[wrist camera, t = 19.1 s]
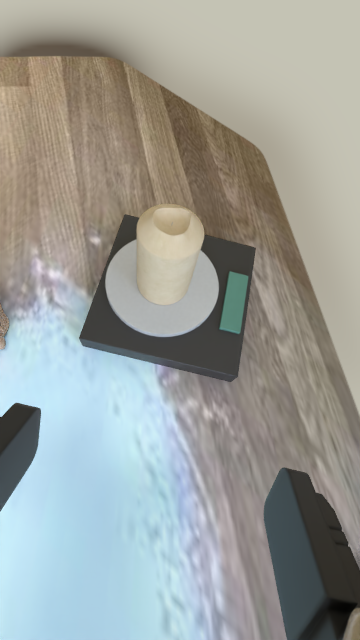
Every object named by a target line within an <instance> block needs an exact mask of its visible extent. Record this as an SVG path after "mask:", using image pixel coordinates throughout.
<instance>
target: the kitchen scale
mask: <svg viewBox="0 0 360 640" xmlns="http://www.w3.org/2000/svg"><path fill="white" fill-rule="evenodd" d="M138 220H139V218H138V217H134V216H130V215H126V214H125V215H124V218H123V220H122V223H121V226H120V228H119V231H118V234H117V237H116V239H115V242H114V245H113V247H112V250H111V253H110V256H109V258H108V261H107V264H106V266H105V269H104V272H103V275H102V277H101V280H100V283H99V285H98V288H97V291H96V294H95V296H94V299H93V302H92V304H91V307H90V310H89V313H88V315H87V318H86V321H85V323H84V326H83V329H82V332H81V334H80V337H79V339H80V341H81V343H82V345H83V346H86V347H90V348H94V349H98V350H102V351H106V352H110V353H114V354H118V355H123V356H127V357H131V358H135V359H139V360H143V361H147V362H151V363H155V364H160V365H164V366H168V367H172V368H176V369H180V370H184V371H188V372H192V373H197V374H201V375H205V376H209V377H213V378H217V379H221V380H225V381H229V382H232V381H233V380H234V379H235V378H237V377H238V371H239V363H240V356H241V349H242V342H243V335H244V328H245V321H246V313H247V306H248V299H249V292H250V285H251V278H252V271H253V264H254V256H255V249H256V248H254V247H251V246H247V245H243V244H239V243H235V242H231V241H227V240H223V239H219V238H216V237H212V236H208V235H204V240H203V243H202V246H201V250H200V253H199V256H198V259H197V263H196V266H195V269H194V272H193V276H192V279H191V282H190V285H189V288H188V291H187V293H186V294H185V296H184V297H183V298H182V299H181V300H179V301H178V302H176V303H174V304H170V305H158V304H154V303H152V302H150V301H148V300H147V299H145V298H144V297H143V295H142V294H141V293H140V291H139V289H138V285H137V223H138Z"/></svg>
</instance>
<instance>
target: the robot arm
mask: <svg viewBox="0 0 360 640" xmlns="http://www.w3.org/2000/svg"><path fill="white" fill-rule="evenodd" d="M40 418H41V409H40V408H37V407H32V406H28V405H24V404H20V403H15V404H14V405H12V406H11V408H10V409H9V410H8V411H7V412H6V413H5V414H4V415H3V416H2V417H0V511H1V510H2V508H3V506H4V505H5V503H6V502H7V500H8V499H9V497H10V496H11V494H12V493H13V491H14V489H15V488H16V486H17V485H18V483H19V482H20V480H21V479H22V477H23V475H24V474H25V472H26V471H27V469H28V468H29V466H30V464H31V463H32V461H33V459H34V456H35V454H36V451H37V447H38V439H39V428H40ZM264 522H265V527H266V533H267V538H268V543H269V548H270V553H271V559H272V564H273V569H274V574H275V579H276V585H277V590H278V595H279V600H280V605H281V611H282V616H283V621H284V626H285V631H286V636H287V640H360V570H359V567H358V565H357V563H356V560H355V558H354V556H353V553H352V551H351V549H350V547H348V541H347V539H346V537H345V534H344V532H342V527H341V525H340V523H339V520H338V518H337V515H336V513H335V511H334V509H333V508H332V507H331V506H330V504H329V503H328V502H327V500H326V499H325V498H324V496H323V495H322V494H319V493H316V492H315V490H314V487H313V485H312V482H311V479H310V477H309V475H308V474H307V473H305V472H301V471H296V470H292V469H288V468H282V469H281V470H280V471H279V473H278V475H277V477H276V480H275V482H274V484H273V486H272V488H271V490H270V492H269V494H268V496H267V499H266V501H265V506H264Z"/></svg>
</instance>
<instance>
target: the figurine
mask: <svg viewBox="0 0 360 640" xmlns="http://www.w3.org/2000/svg"><path fill="white" fill-rule="evenodd" d="M8 327H9V320H8V318H7V316H6V315H5V313H4V312H3V309H2V306H1V303H0V349H4V348H5V345H6V341H5V339H4V338H3V337H4V336H5V334H6V332H7V330H8Z"/></svg>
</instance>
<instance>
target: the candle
mask: <svg viewBox="0 0 360 640" xmlns="http://www.w3.org/2000/svg"><path fill="white" fill-rule="evenodd" d="M203 240H204V228H203V225H202V223H201V221H200V219H199V218H198V217H197V216H196V215H195V214H194V213H193V212H192V211H190V210H189V209H187V208H185V207H183V206H180V205H176V204H160V205H156V206H153V207H151V208H149V209H148V210H146V211H145V212H144V213H143V214H142V215H141V217H140V218H139V220H138V223H137V285H138V289H139V291H140V293H141V294H142V295H143V297H144V298H145V299H147V300H148V301H150V302H152V303H154V304H158V305H170V304H174V303H176V302H178V301H179V300H181V299H182V298H183V297H184V296H185V294H186V293H187V291H188V288H189V285H190V282H191V279H192V276H193V272H194V269H195V266H196V263H197V259H198V256H199V253H200V250H201V246H202V243H203Z"/></svg>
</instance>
